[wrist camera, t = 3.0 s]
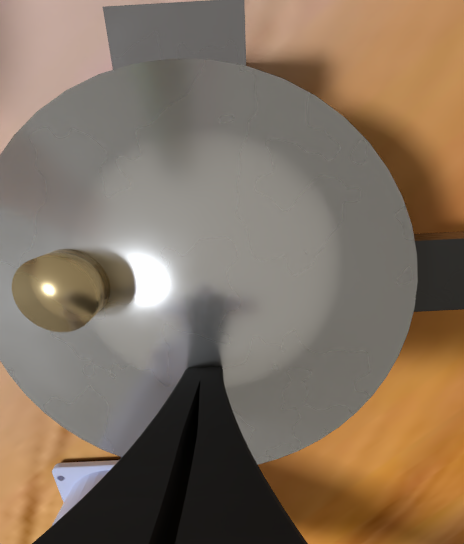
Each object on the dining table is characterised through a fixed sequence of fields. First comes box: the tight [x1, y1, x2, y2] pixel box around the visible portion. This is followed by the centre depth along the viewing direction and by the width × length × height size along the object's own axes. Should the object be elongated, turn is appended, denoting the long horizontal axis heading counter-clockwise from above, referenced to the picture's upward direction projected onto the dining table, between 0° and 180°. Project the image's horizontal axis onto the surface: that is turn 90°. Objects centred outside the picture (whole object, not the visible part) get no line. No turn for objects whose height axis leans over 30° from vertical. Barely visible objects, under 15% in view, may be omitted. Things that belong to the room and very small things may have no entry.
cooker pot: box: [103, 0, 464, 312], centre depth 12 cm, size 16×22×4 cm
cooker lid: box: [0, 58, 418, 465], centre depth 9 cm, size 15×15×2 cm
